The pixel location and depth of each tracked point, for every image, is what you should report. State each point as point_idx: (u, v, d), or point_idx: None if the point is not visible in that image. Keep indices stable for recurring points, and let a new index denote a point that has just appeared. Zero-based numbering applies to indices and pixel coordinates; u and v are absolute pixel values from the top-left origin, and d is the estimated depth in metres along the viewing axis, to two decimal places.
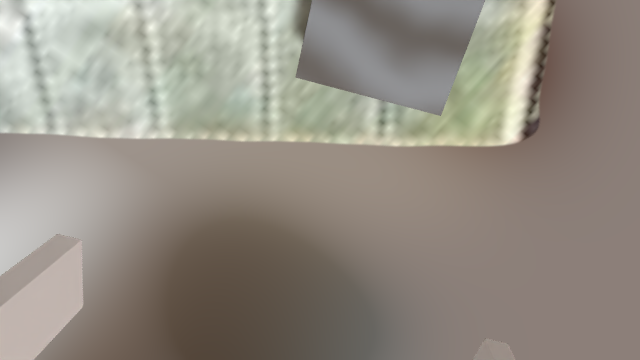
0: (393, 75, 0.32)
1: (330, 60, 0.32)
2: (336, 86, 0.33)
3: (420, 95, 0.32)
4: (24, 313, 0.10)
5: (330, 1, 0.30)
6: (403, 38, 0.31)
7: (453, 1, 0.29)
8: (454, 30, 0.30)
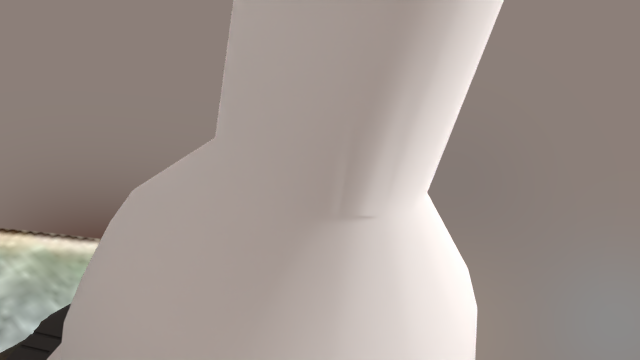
0: None
1: None
2: None
3: None
4: None
5: None
6: None
7: None
8: None
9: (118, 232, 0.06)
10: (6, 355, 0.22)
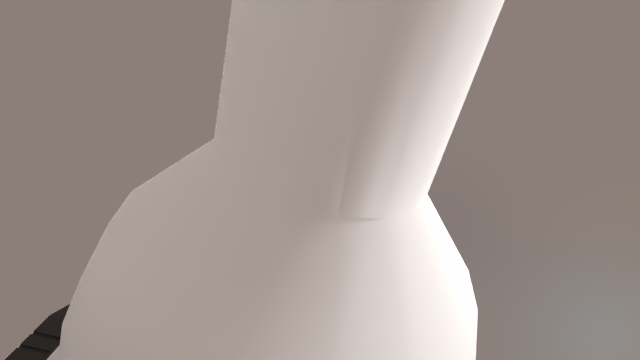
0: None
1: None
2: None
3: None
4: None
5: None
6: None
7: None
8: None
9: (117, 234, 0.06)
10: None
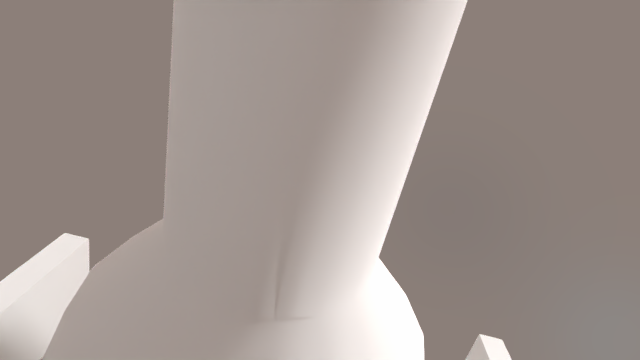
0: None
1: None
2: None
3: None
4: (33, 311, 0.10)
5: None
6: None
7: None
8: None
9: (70, 325, 0.06)
10: None
